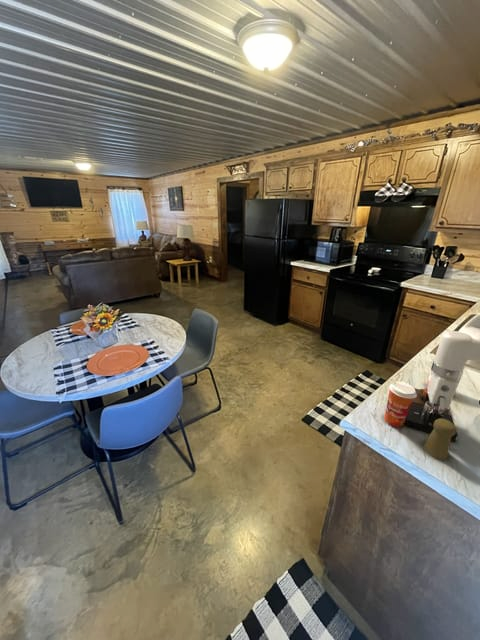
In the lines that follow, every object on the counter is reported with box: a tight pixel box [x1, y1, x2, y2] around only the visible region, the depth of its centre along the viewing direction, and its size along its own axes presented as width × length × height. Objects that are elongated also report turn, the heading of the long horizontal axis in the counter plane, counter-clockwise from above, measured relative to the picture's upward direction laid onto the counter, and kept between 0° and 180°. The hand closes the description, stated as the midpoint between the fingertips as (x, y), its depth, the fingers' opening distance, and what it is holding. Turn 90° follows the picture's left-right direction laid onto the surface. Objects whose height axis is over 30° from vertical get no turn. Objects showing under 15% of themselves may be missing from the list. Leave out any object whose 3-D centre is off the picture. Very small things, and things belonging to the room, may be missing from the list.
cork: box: [423, 419, 457, 461], centre depth 77 cm, size 6×6×11 cm
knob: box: [421, 401, 438, 420], centre depth 87 cm, size 4×4×5 cm
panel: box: [403, 404, 459, 443], centre depth 89 cm, size 14×10×3 cm
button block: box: [412, 387, 450, 414], centre depth 99 cm, size 12×10×4 cm
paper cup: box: [384, 381, 417, 428], centre depth 88 cm, size 8×8×14 cm
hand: (430, 413), depth 88 cm, fingers open, 9 cm apart
